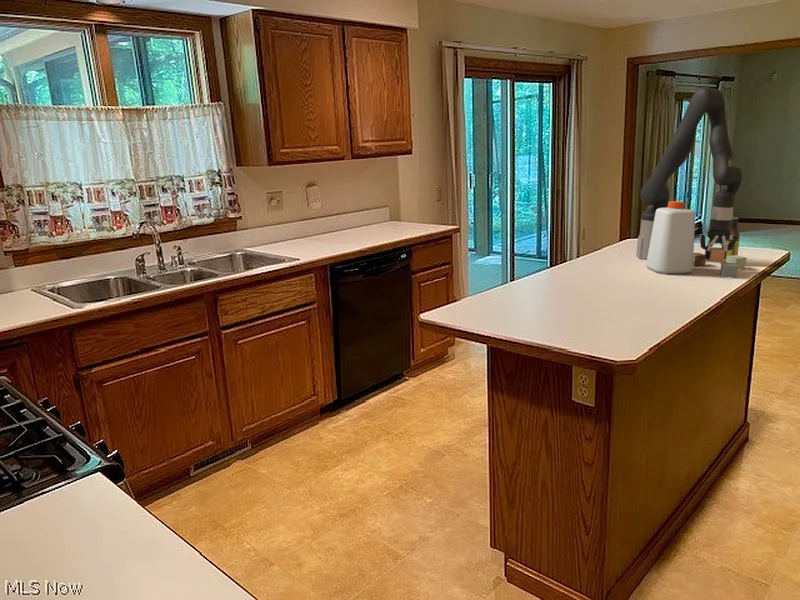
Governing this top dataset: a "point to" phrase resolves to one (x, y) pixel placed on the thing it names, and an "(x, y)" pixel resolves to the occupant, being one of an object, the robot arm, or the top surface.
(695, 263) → the walnut cube
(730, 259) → the sage cube
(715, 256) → the terracotta cube
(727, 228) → the robot arm
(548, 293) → the top surface
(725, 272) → the slate cube
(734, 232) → the sauce bottle
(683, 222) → the plastic bottle
